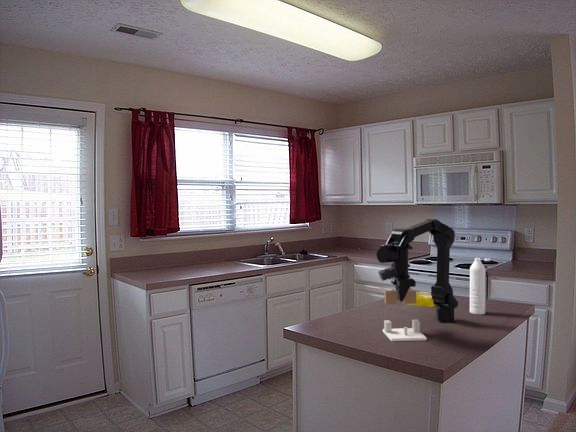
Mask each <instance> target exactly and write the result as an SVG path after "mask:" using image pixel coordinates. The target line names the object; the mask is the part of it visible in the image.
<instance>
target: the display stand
mask: <svg viewBox="0 0 576 432" xmlns="http://www.w3.org/2000/svg"><path fill="white" fill-rule="evenodd" d="M382 332H383V334H384V335H385V336H386V337H387V338H388V339H389V340H390V341H391V342H409V341H411V342H412V341H415V342H416V341H419V342H420V341H427V340H428V338H427V336H426V335H424V333H422V332H421V321H419V319H411V327H410V328H409V327H408V326H404V327H403V328H402V327H401V328H392V322H391V321H390V319H389V320H388V319H387V320H386V319H385V320H383V328H382Z"/></svg>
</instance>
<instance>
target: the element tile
mask: <svg viewBox="0 0 576 432" xmlns="http://www.w3.org/2000/svg"><path fill="white" fill-rule="evenodd" d="M415 291H416V304H407V305H409V306H418V307H426V308H427V307H428V308H435V307H437V305H434V303H433V299H432V295H431V292H427V291H418V290H415Z"/></svg>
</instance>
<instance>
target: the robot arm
mask: <svg viewBox="0 0 576 432" xmlns="http://www.w3.org/2000/svg"><path fill="white" fill-rule="evenodd" d="M428 232H429V234H430V235H431V236H432V237H433V243H434V244H435V247H436V248H437V249H436V281H435V283H434V285H431V287H430V290H431V291H430V293H431V295H432V299H433V303H434V305H437V306H436V308H435V319H436V320H437V321H438V322H441V323H456V322H457V320H456V319H455V309H456V308H458V305H459V301H458V299H456V297H455V296H454V292H453V291H454V290H453V288H452V285H451V284H450V256H451V255H450V253H451V248H452V246H453V244H454V241H455V236H456V232H455V230H454V229H453V228H452V227H450V226H449V225H447V224H444V223H443V222H441V221H440V220H439V219H436V218H426V220H424V221H422V222H419V223H416V224H414V225H410V226H408V227H400V228H394V229H393V230H392V231H391V233H390V235H389V237H388V239H387V240H386V243H385V244H381V245H380V248H378V250H377V252H376V259H377V261H378V262H379V263H381V264H384V263H385V264H387V263H391V266H390V267H387V268H383V269H381V270H379V271H378V275H379V278H380V280H382V281H387V280H389V281H390V280H391V279H392V280H391V281H390V283H391V284H392V285H393V286H394V289H395V290H398V293H399V296H398V301H399V302H401V303H402V302H403V300H404V298H405V296H406V294H407V292H408V290H409V288H413V287H414V288H415V287H416V285H417V283H416V282H417V281H416V280H415V279H413V278H412V277H411V275H410V274H409V268H410V267H411V264H410V263H409V253H410V252H409V251H410V250H413V247H412V245H410V243H412V242H413V241H414V240H415V239H416V237H418V236H421V235H423V234H426V233H428Z"/></svg>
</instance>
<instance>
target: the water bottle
mask: <svg viewBox="0 0 576 432" xmlns="http://www.w3.org/2000/svg"><path fill="white" fill-rule="evenodd" d="M484 262H491V258H484ZM469 313H470V314H473V315H485V314H486V267H485V266H484V264H483V262H482V261H481V258H480V257H474V261H473V263H472V264H471V265H470V267H469Z"/></svg>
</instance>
